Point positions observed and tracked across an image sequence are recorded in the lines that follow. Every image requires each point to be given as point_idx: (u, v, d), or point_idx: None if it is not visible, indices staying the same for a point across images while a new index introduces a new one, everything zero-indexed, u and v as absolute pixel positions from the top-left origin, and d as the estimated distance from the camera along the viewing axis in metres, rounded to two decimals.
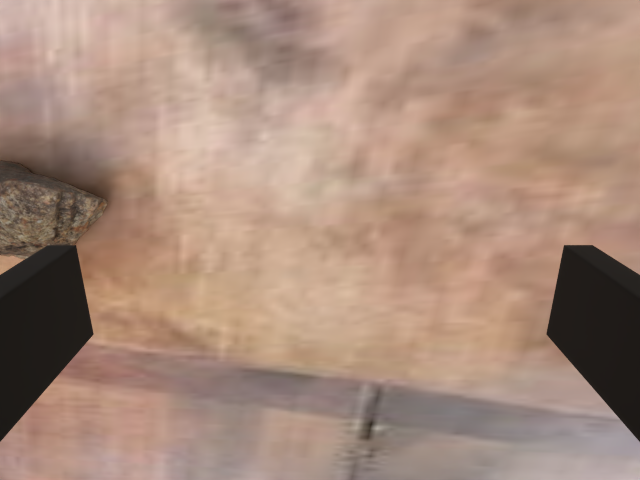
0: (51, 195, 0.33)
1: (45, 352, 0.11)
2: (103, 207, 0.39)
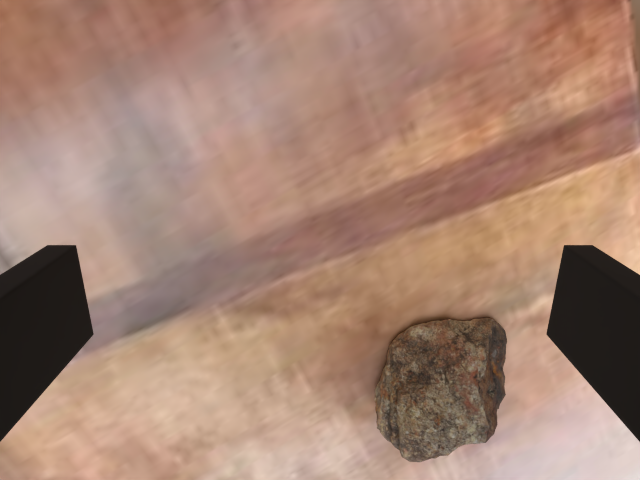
0: (404, 456, 0.41)
1: (45, 352, 0.11)
2: (376, 397, 0.46)
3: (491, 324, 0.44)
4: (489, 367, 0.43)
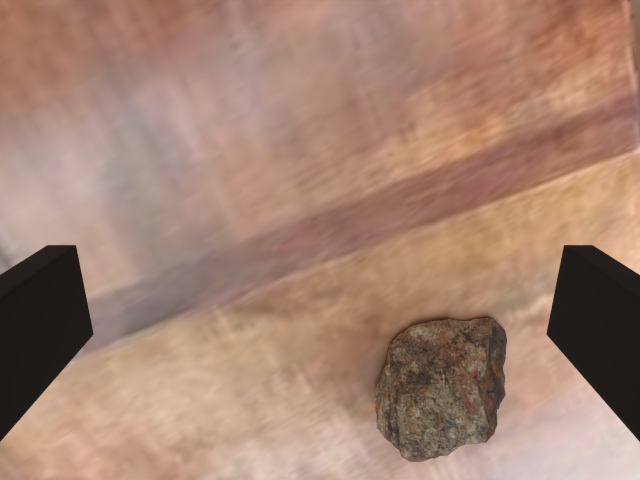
0: (404, 456, 0.41)
1: (45, 352, 0.11)
2: (376, 397, 0.46)
3: (491, 324, 0.44)
4: (489, 367, 0.43)
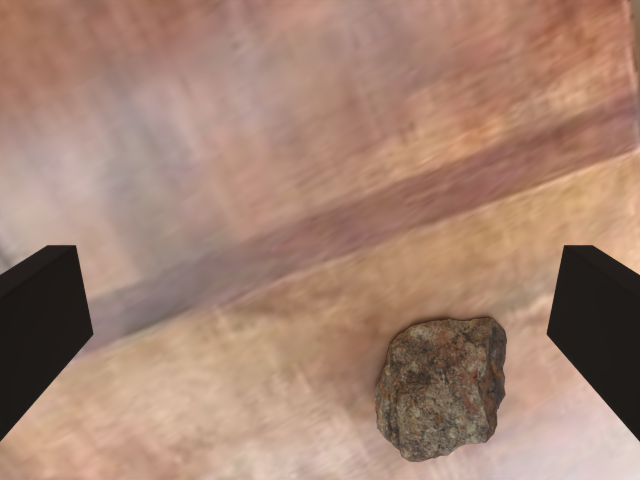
0: (404, 456, 0.41)
1: (45, 352, 0.11)
2: (376, 397, 0.46)
3: (491, 324, 0.44)
4: (489, 367, 0.43)
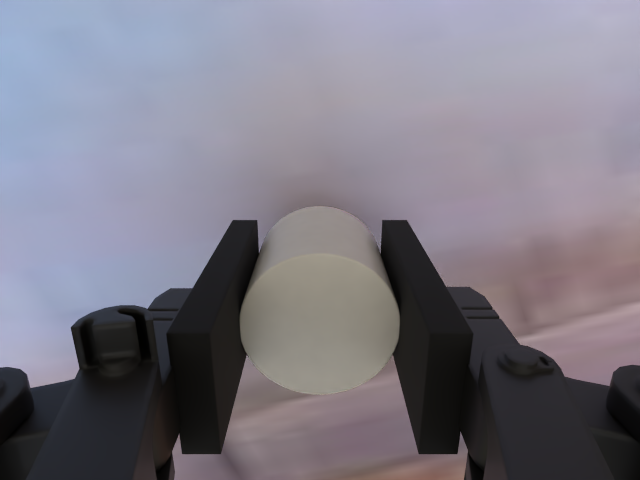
0: None
1: None
2: None
3: None
4: None
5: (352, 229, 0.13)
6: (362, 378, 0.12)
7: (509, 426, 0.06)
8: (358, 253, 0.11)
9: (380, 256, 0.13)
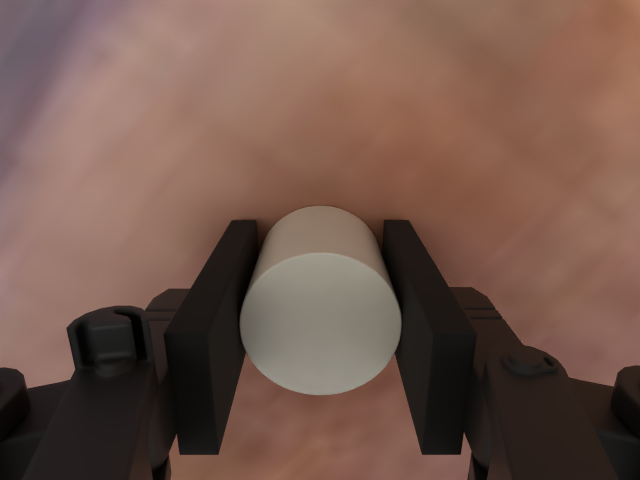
0: None
1: None
2: None
3: None
4: None
5: (353, 229, 0.13)
6: (363, 378, 0.11)
7: (513, 426, 0.06)
8: (359, 252, 0.11)
9: (381, 256, 0.13)
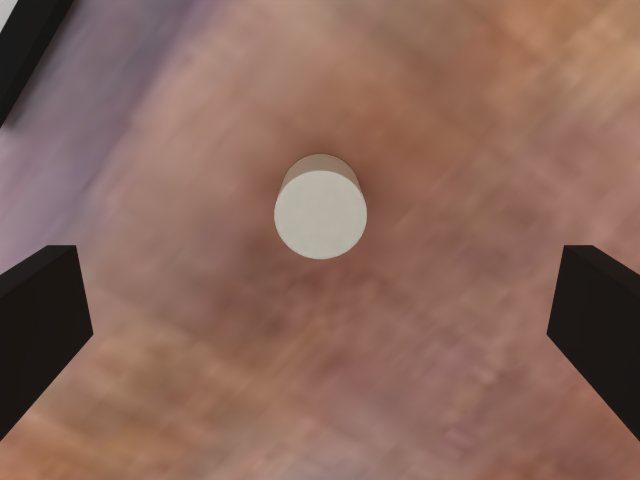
0: None
1: (45, 352, 0.11)
2: None
3: None
4: None
5: (340, 164, 0.21)
6: (345, 248, 0.20)
7: None
8: (342, 172, 0.19)
9: (357, 182, 0.21)
